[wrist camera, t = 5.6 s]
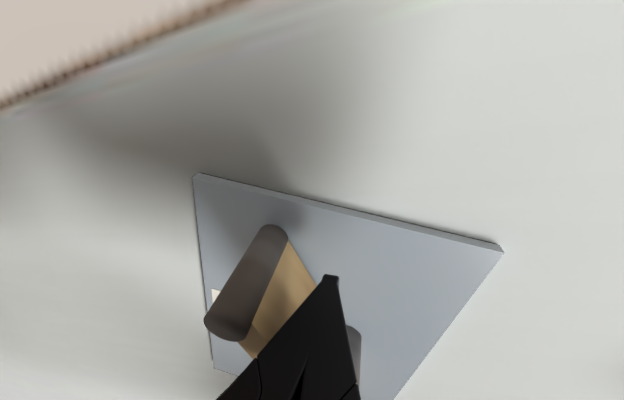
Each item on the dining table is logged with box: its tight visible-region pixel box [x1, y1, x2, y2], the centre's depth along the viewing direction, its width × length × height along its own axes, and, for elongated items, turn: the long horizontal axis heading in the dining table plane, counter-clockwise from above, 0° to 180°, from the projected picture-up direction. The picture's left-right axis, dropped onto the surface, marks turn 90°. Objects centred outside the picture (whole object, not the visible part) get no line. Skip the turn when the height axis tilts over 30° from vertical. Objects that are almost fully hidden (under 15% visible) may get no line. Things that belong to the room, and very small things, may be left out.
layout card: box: [192, 173, 504, 400], centre depth 13 cm, size 15×11×1 cm
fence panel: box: [204, 224, 316, 359], centre depth 9 cm, size 6×1×4 cm, turn 26°
